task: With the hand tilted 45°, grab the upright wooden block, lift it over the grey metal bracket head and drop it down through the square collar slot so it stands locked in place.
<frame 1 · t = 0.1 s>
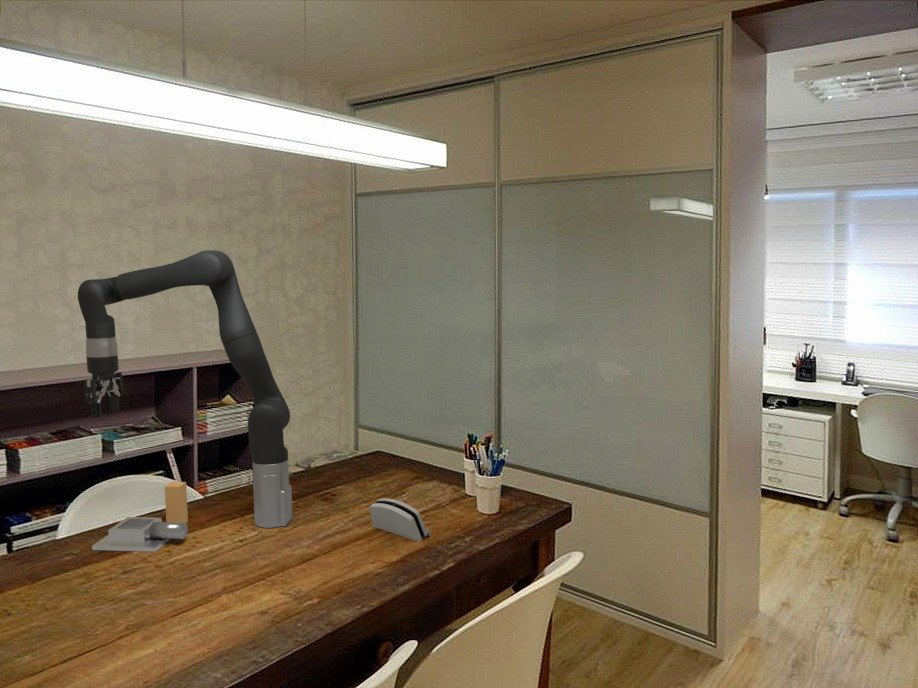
hand: (106, 413, 191), 29 cm above the table, tool pointing down, fingers open, 8 cm apart
grey rounded block: (398, 533, 185), on the table
upright wooden block: (177, 523, 191), on the table
bracket head: (136, 541, 179), on the table
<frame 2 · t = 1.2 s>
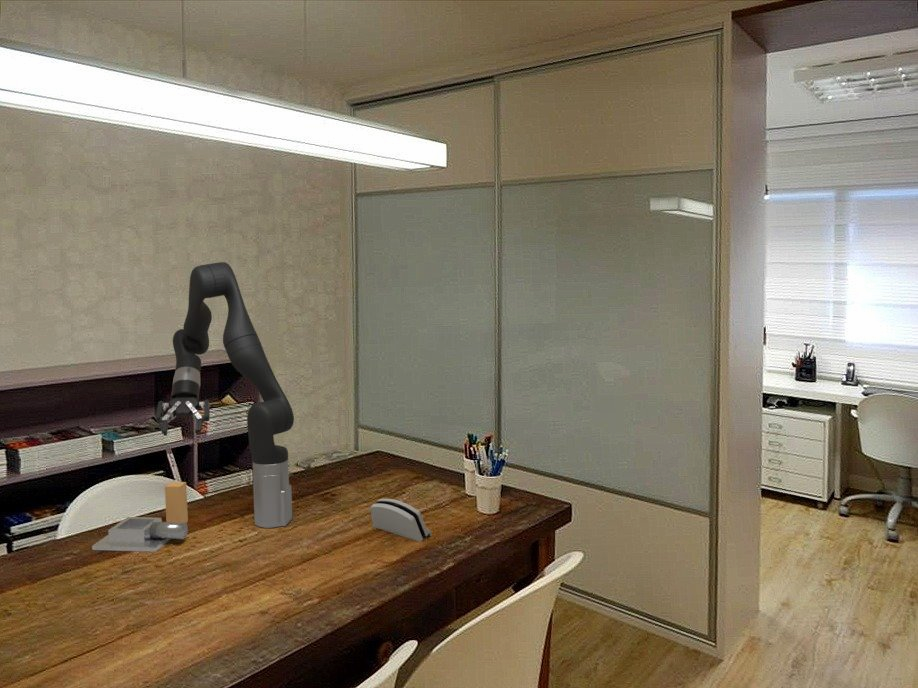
hand: (181, 433, 199), 22 cm above the table, tool tilted 45°, fingers open, 8 cm apart
nothing on the table moved.
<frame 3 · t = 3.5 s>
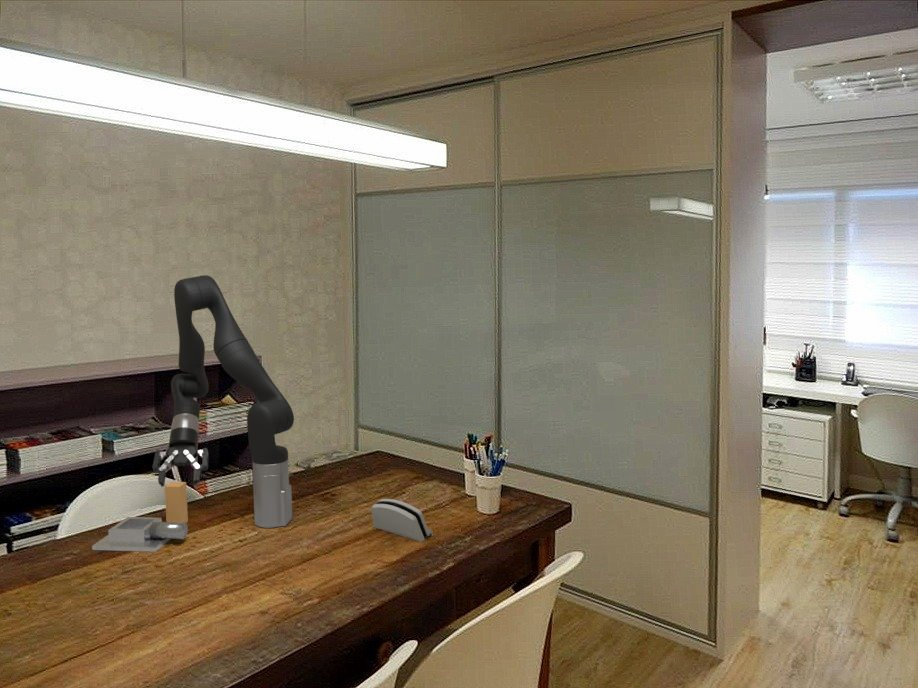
hand: (178, 484, 194), 10 cm above the table, tool tilted 45°, fingers open, 8 cm apart
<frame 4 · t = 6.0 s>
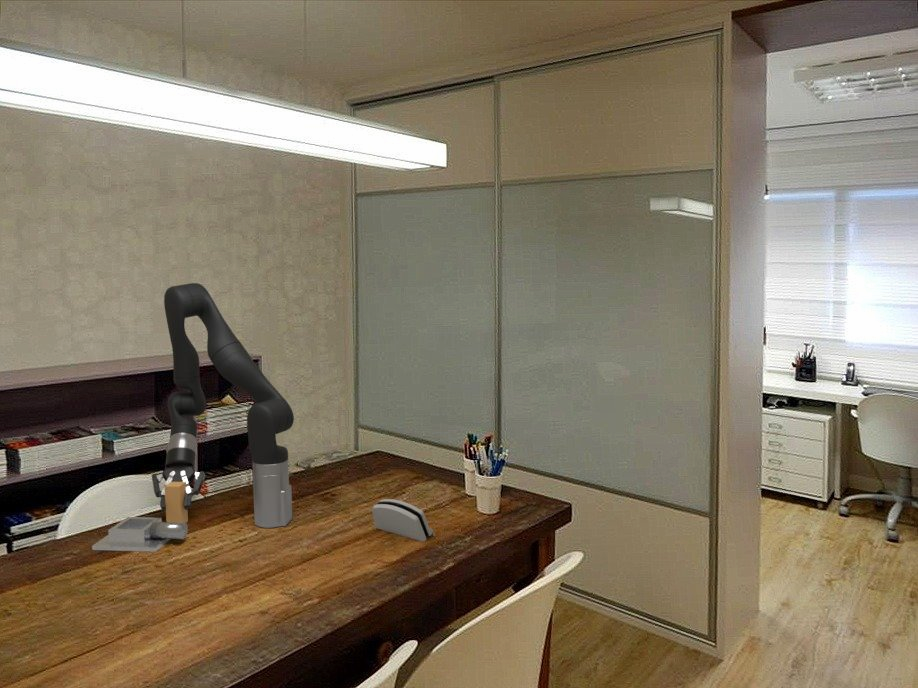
hand: (175, 509, 188), 5 cm above the table, tool tilted 45°, fingers closed on upright wooden block, 5 cm apart
upright wooden block: (177, 523, 191), on the table, touching gripper
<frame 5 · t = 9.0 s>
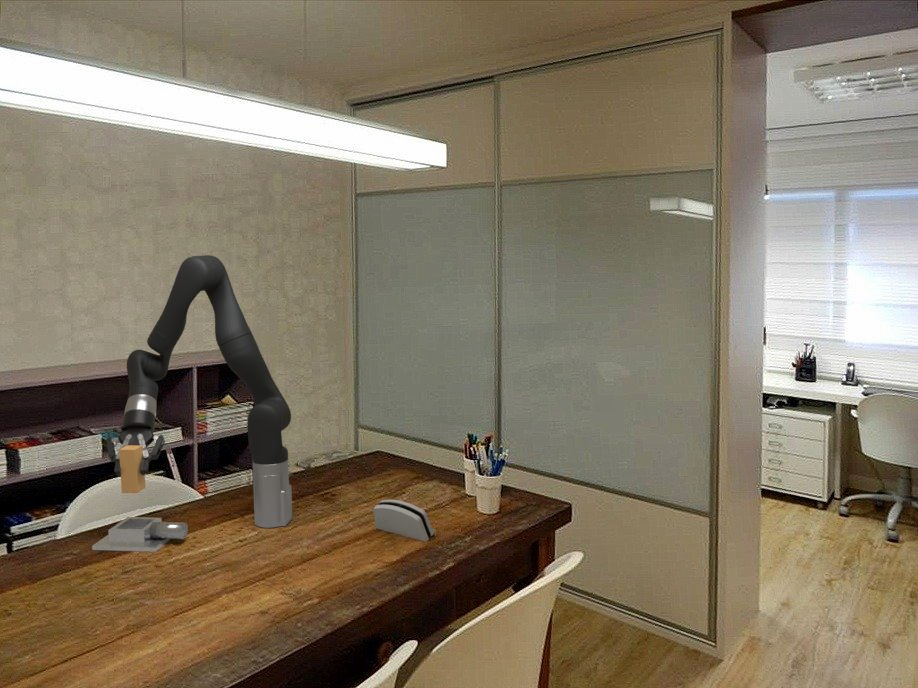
hand: (130, 474, 175), 18 cm above the table, tool tilted 45°, fingers closed on upright wooden block, 5 cm apart
upright wooden block: (133, 490, 178), point 13 cm above the table, touching gripper
when the fingers open (7 cm above the table, at t = 12.4 s): upright wooden block drops 2 cm, resting in bracket head.
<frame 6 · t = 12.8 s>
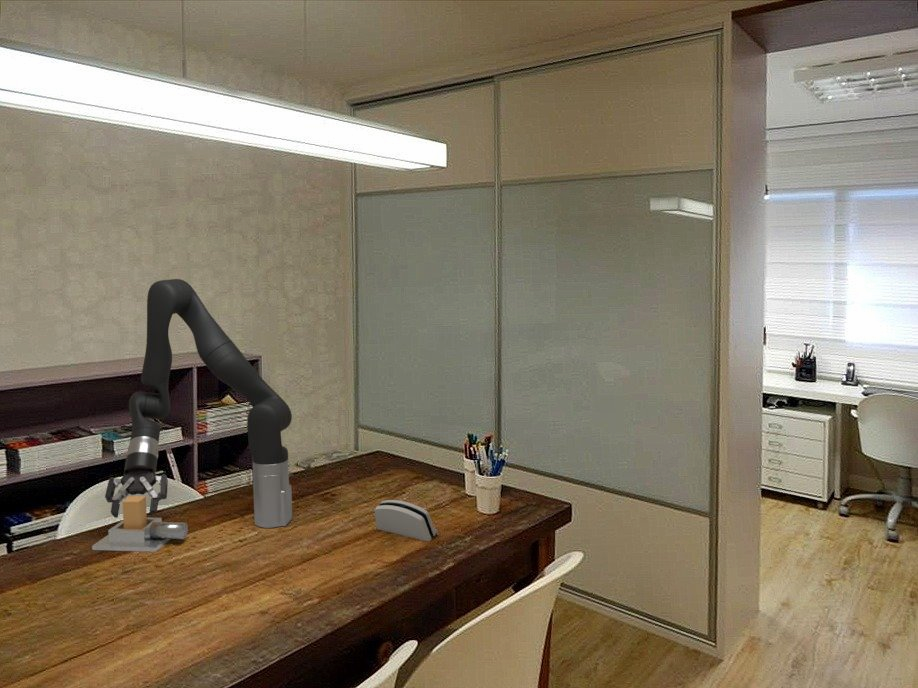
hand: (133, 515, 177), 7 cm above the table, tool tilted 45°, fingers open, 8 cm apart
upright wooden block: (136, 540, 179), resting in bracket head
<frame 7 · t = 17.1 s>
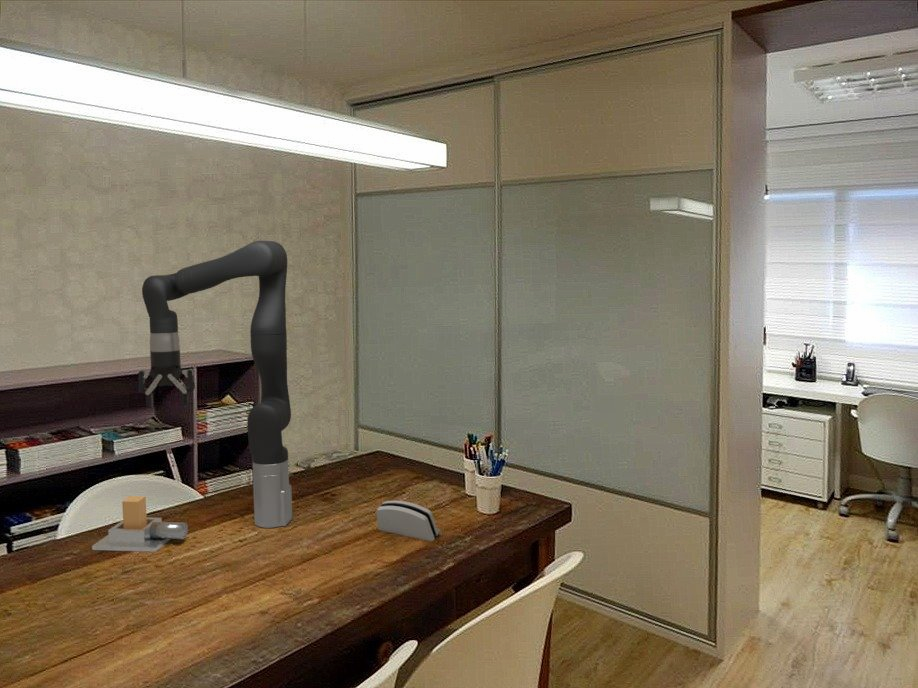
hand: (167, 407, 195), 30 cm above the table, tool pointing down, fingers open, 8 cm apart
at the end: upright wooden block 0.1 cm off-centre on the bracket head, point 0.0 cm above the bracket head's base; upright wooden block tilted 0°; the gripper is holding nothing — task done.
